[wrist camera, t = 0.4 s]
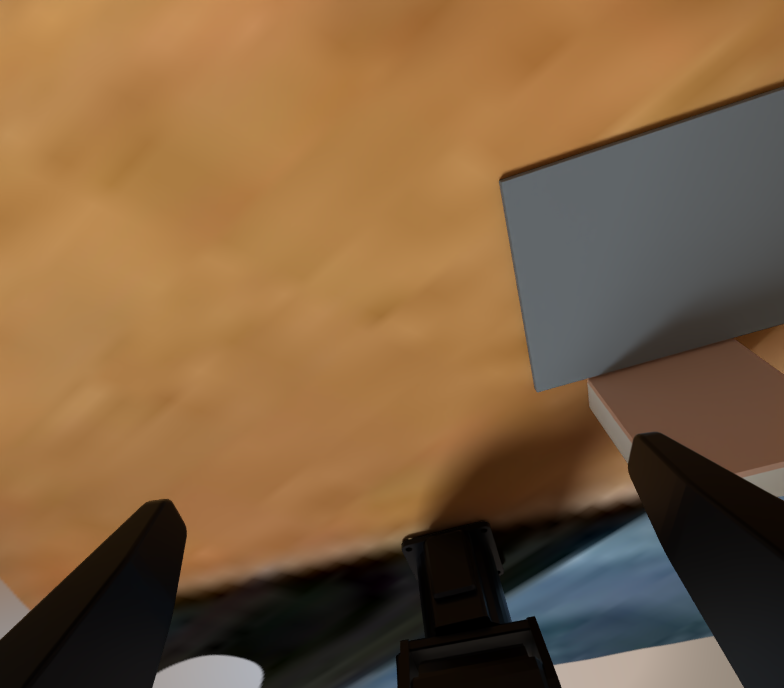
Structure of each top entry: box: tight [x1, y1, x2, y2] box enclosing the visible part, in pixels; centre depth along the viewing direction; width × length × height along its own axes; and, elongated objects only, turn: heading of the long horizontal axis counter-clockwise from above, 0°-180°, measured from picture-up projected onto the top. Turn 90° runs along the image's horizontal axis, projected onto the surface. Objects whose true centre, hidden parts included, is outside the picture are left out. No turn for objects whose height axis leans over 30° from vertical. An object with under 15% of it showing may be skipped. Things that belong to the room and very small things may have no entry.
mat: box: [499, 86, 784, 392], centre depth 22 cm, size 12×14×1 cm
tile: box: [587, 338, 784, 497], centre depth 22 cm, size 2×8×8 cm, turn 107°
